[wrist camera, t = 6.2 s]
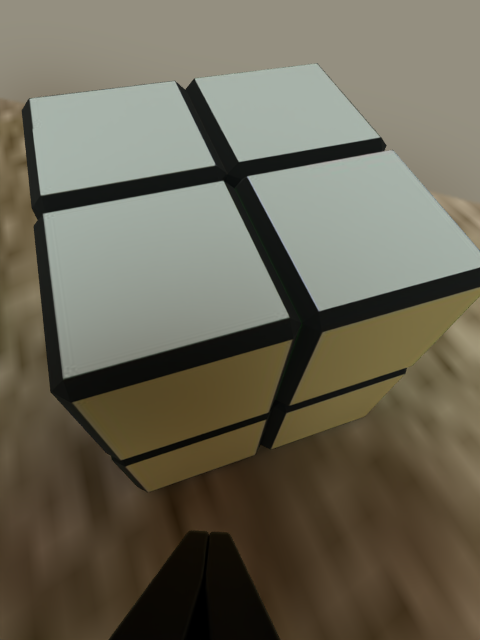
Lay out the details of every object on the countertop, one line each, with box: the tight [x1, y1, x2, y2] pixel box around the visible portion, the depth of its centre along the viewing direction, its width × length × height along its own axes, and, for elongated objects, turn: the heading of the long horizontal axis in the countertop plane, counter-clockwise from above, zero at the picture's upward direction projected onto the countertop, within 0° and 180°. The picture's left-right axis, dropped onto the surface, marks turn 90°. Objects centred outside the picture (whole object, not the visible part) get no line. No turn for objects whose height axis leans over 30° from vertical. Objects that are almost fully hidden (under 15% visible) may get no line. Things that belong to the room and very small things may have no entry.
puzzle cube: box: [22, 63, 480, 492], centre depth 14 cm, size 10×10×10 cm
